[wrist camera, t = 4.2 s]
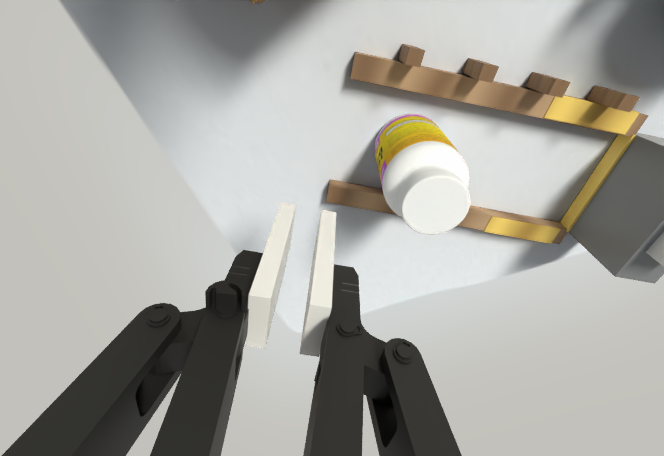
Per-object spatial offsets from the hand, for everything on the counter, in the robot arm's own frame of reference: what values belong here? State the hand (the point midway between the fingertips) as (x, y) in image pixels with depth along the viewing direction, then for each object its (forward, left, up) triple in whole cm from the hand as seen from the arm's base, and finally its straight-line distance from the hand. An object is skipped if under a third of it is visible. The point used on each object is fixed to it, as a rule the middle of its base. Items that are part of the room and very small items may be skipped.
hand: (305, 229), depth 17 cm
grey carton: (+30, 0, -18) cm, 36 cm away
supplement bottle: (+8, 0, -19) cm, 20 cm away
